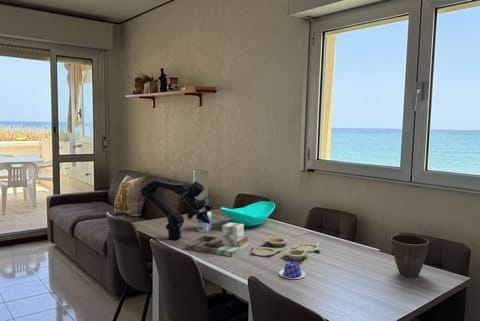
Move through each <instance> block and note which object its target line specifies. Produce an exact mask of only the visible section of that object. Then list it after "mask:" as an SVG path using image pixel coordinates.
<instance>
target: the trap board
mask: <svg viewBox="0 0 480 321" xmlns="http://www.w3.org/2000/svg"><path fill="white" fill-rule="evenodd" d="M248 237H249V236H247V235H246V236H244V238H242V239H241V240H239V241H238V246H233V245H226V244H222V237H220V236H219V237H217V236H211V235H205V234H204V235H203V236H201V237H198V238H196V239H194V240H192V241H189V242H188V243H186V244H185V249H186V250H190V251H195V252H196V251H197V252H203V253H207V254H208V253H210V254H214V255H219V256H220V255H221V256H227V257H234V256H235V255H238V253H240V252H241V251H243V250H245V248H247V247H249V240H248Z"/></svg>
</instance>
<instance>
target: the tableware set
mask: <svg viewBox="0 0 480 321" xmlns="http://www.w3.org/2000/svg"><path fill="white" fill-rule="evenodd" d="M263 242H264V243H269V244H270V246H272V247H283V246H284V245H285V244H287V243H288V242H289V240H288V239H287V238H285V237H279V236H277V237H274V235H273V234H270V235H269V236H268V237H267V238H266V239H263ZM319 245H320V243H318V242H315V243H308V242H306V243H305V242H303V243H302V241H298V242H296V243H295V244H294V245H293V246H291V248H288V249H287V250H285V251H284V252H283V253H284V255H286V256H287V257H288V258H289V259H290V260H293V261H300V260H303V259H304V258H305V257H306V256H307V255H308V253H313V252H314V253H315V252H318V251H321V252H322V248H321V246H319ZM272 247H268V246H267V247H265V246H264V247H263V246H261V247H259V245H252V250H251V254H252V255H255V256H258V257H271V256H273V255H274V256H275V255H276V254H277V253H279V252H281V251H282V250H283V248H276V249H275V248H272ZM259 250H260V252H257V251H259ZM262 250H264V251H262Z"/></svg>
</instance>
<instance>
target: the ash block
mask: <svg viewBox="0 0 480 321" xmlns="http://www.w3.org/2000/svg"><path fill="white" fill-rule="evenodd" d="M244 228H245V226H244V224H239V223H237V222H230V221H229V222H226V223H225V224H222V225H221V238H222V244H226V245H233V246H238V241H239V240H241V239H242V238H244V237H245V235H244V234H245V230H244Z"/></svg>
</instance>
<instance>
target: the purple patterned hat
mask: <svg viewBox="0 0 480 321" xmlns="http://www.w3.org/2000/svg"><path fill="white" fill-rule="evenodd" d="M278 275H279V276H280V277H282V278H285V279H289V280H295V279H296V280H297V279H303V278H304V277H306V276H307V272H306V271H304V270H302V269H301V266H300V263H299V262H296V261H287V262H286V263H285V266H284V268H283V269H281V270H279V271H278Z"/></svg>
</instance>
